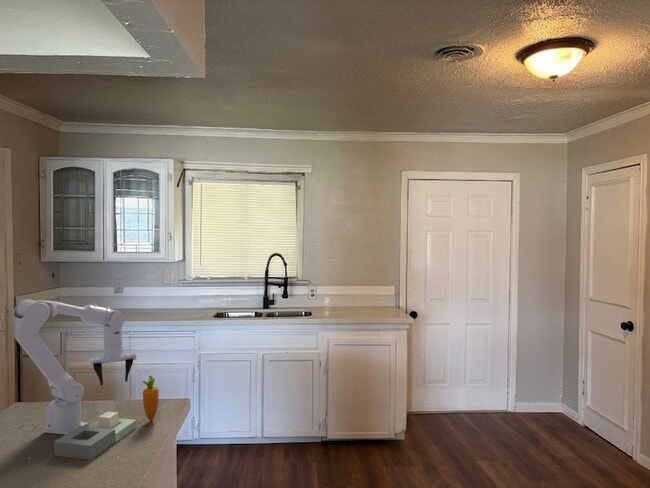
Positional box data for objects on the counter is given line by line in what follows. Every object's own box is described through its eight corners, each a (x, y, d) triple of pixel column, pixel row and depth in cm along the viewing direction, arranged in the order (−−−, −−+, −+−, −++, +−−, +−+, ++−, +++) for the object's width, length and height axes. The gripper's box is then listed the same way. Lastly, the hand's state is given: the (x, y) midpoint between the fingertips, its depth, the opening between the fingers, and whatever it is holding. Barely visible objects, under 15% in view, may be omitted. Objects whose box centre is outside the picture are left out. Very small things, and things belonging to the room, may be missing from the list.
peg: (98, 435, 135) (98, 416, 135) (107, 430, 139) (107, 411, 138) (110, 437, 134) (109, 417, 134) (118, 431, 138) (118, 412, 138)
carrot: (153, 425, 142) (152, 379, 141) (140, 423, 143) (139, 378, 142) (162, 418, 147) (161, 374, 146) (149, 417, 148) (148, 373, 147)
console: (91, 459, 121) (90, 445, 120) (54, 455, 123) (53, 441, 123) (136, 427, 140) (136, 415, 140) (103, 424, 143) (103, 412, 142)
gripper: (88, 349, 145) (89, 389, 145) (136, 344, 151) (137, 382, 151) (89, 344, 151) (91, 383, 152) (135, 339, 157) (136, 376, 158)
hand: (114, 382), depth 152 cm, fingers open, 7 cm apart
